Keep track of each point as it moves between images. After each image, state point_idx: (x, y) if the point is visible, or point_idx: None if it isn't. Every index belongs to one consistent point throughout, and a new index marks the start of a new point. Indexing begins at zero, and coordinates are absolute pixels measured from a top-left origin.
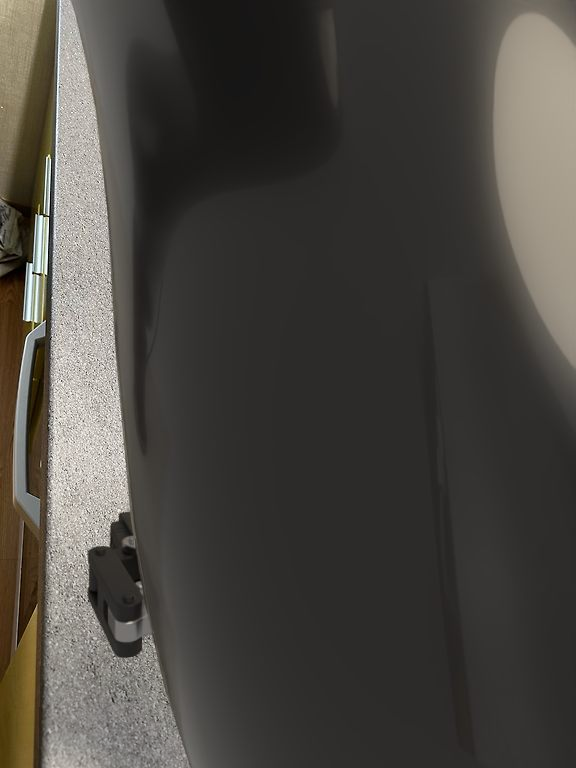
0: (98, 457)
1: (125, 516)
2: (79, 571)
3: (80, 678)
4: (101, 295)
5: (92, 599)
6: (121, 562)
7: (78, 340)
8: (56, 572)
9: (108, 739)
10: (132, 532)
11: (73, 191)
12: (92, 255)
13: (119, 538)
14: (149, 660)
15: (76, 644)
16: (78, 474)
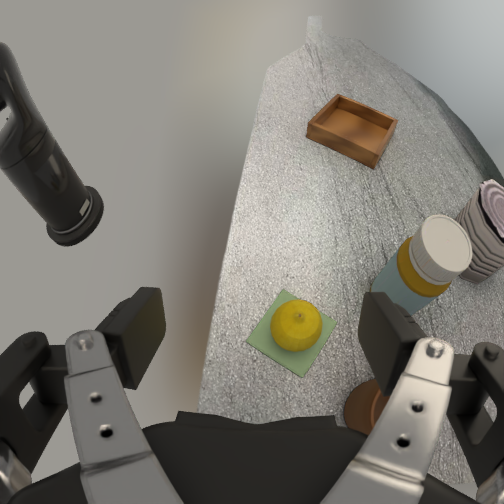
0: (261, 239)
1: (139, 293)
2: (232, 325)
3: (220, 400)
4: (281, 129)
5: (27, 404)
6: (15, 376)
7: (261, 156)
8: (216, 322)
9: None
10: (109, 323)
11: (272, 79)
12: (278, 108)
13: (101, 327)
14: (272, 402)
15: (221, 376)
16: (244, 250)
